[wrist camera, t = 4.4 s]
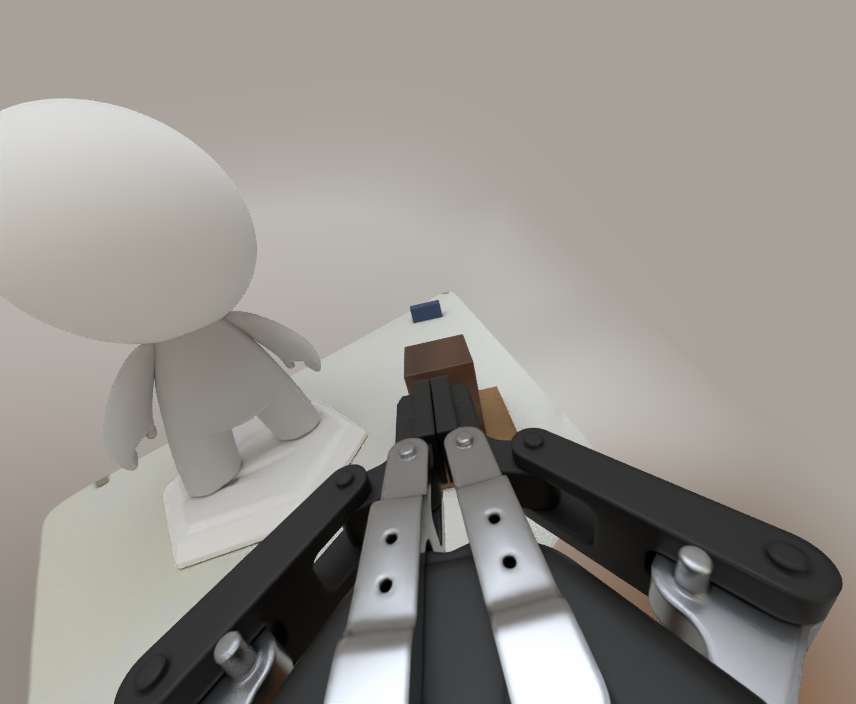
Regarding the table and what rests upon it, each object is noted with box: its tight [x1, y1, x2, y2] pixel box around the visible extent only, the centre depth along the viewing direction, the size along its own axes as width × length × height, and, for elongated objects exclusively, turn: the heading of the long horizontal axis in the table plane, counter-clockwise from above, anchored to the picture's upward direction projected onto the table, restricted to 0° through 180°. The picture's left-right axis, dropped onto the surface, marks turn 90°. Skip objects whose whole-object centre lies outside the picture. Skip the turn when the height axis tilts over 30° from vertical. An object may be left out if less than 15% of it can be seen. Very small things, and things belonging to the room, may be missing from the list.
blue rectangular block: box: [410, 300, 442, 323], centre depth 69 cm, size 6×2×3 cm, turn 93°
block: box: [404, 334, 517, 489], centre depth 33 cm, size 12×12×10 cm
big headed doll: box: [0, 98, 368, 569], centre depth 31 cm, size 20×23×35 cm
